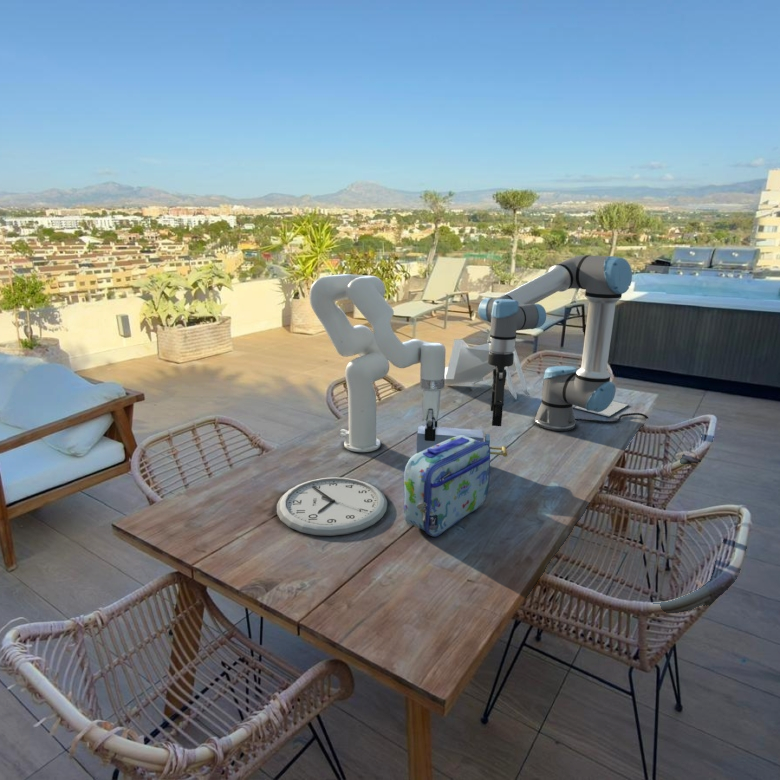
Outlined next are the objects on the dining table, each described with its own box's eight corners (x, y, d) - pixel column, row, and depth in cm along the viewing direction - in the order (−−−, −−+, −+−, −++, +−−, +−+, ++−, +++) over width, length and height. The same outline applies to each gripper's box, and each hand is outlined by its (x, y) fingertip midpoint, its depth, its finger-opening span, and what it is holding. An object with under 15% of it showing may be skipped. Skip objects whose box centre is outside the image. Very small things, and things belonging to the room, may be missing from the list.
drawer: (504, 462, 169) (507, 435, 166) (505, 470, 163) (508, 441, 161) (427, 456, 172) (428, 429, 169) (426, 463, 167) (427, 435, 164)
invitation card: (608, 416, 214) (573, 407, 224) (608, 416, 214) (573, 408, 224) (628, 404, 229) (594, 396, 238) (628, 405, 229) (594, 397, 238)
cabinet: (480, 462, 170) (483, 430, 167) (481, 471, 164) (483, 438, 161) (417, 457, 173) (419, 425, 170) (416, 466, 167) (417, 433, 163)
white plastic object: (461, 429, 252) (437, 405, 227) (444, 352, 274) (420, 323, 250) (535, 404, 240) (518, 377, 215) (510, 326, 262) (492, 293, 237)
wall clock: (392, 527, 129) (268, 531, 127) (391, 533, 130) (269, 537, 127) (383, 473, 158) (282, 475, 155) (383, 478, 158) (282, 480, 156)
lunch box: (429, 545, 125) (432, 466, 119) (397, 527, 132) (398, 451, 126) (492, 507, 143) (498, 436, 136) (460, 493, 150) (465, 425, 144)
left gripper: (422, 375, 170) (421, 424, 175) (417, 390, 154) (416, 444, 159) (445, 376, 169) (444, 425, 174) (443, 391, 153) (441, 446, 158)
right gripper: (487, 342, 169) (483, 404, 176) (489, 360, 146) (484, 431, 152) (511, 343, 168) (505, 406, 175) (517, 362, 145) (510, 433, 151)
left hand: (431, 434), depth 166 cm, fingers open, 9 cm apart
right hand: (495, 418), depth 163 cm, fingers open, 13 cm apart
